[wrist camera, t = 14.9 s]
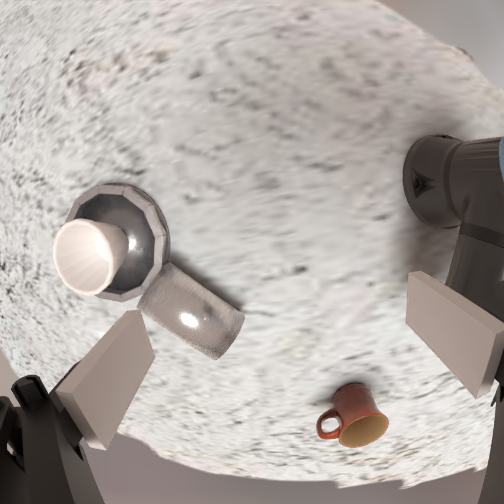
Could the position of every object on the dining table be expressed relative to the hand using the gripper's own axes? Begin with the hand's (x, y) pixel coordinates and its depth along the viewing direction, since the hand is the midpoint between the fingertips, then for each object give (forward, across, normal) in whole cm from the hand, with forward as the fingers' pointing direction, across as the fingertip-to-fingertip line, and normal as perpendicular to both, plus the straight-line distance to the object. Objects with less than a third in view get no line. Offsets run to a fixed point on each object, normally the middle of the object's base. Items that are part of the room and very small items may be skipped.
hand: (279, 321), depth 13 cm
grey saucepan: (+29, -18, -3) cm, 34 cm away
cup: (+28, -23, +1) cm, 36 cm away
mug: (+29, +11, -33) cm, 45 cm away
